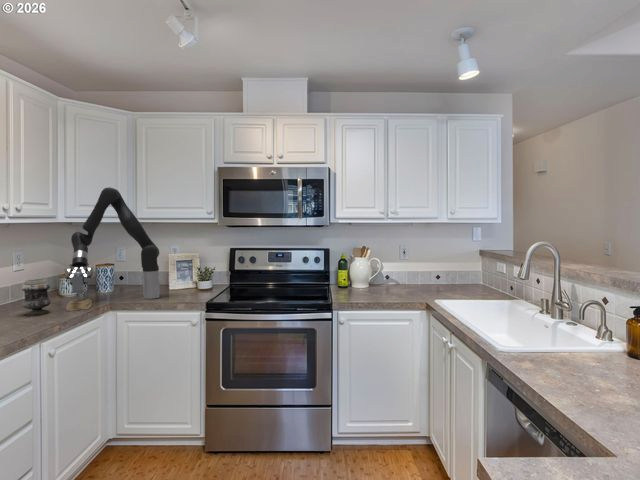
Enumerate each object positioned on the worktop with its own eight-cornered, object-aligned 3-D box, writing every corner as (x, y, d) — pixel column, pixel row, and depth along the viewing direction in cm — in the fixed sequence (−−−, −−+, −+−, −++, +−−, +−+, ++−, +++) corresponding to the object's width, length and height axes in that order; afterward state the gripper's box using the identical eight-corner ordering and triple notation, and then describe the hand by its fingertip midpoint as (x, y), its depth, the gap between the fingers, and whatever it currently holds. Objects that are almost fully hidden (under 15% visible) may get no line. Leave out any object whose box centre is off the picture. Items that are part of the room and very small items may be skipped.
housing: (85, 290, 206) (85, 271, 206) (83, 292, 201) (83, 272, 200) (73, 291, 204) (73, 271, 204) (71, 293, 199) (70, 273, 198)
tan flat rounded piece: (91, 305, 210) (91, 298, 209) (88, 309, 200) (87, 302, 200) (71, 307, 206) (70, 300, 206) (66, 311, 196) (66, 303, 196)
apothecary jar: (46, 309, 200) (45, 277, 199) (55, 312, 193) (53, 279, 192) (18, 314, 190) (17, 280, 189) (27, 317, 183) (25, 282, 182)
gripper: (64, 256, 205) (61, 280, 195) (94, 255, 211) (92, 279, 202) (65, 264, 210) (63, 288, 200) (95, 263, 216) (93, 286, 207)
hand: (78, 283), depth 201 cm, fingers closed on housing, 5 cm apart
